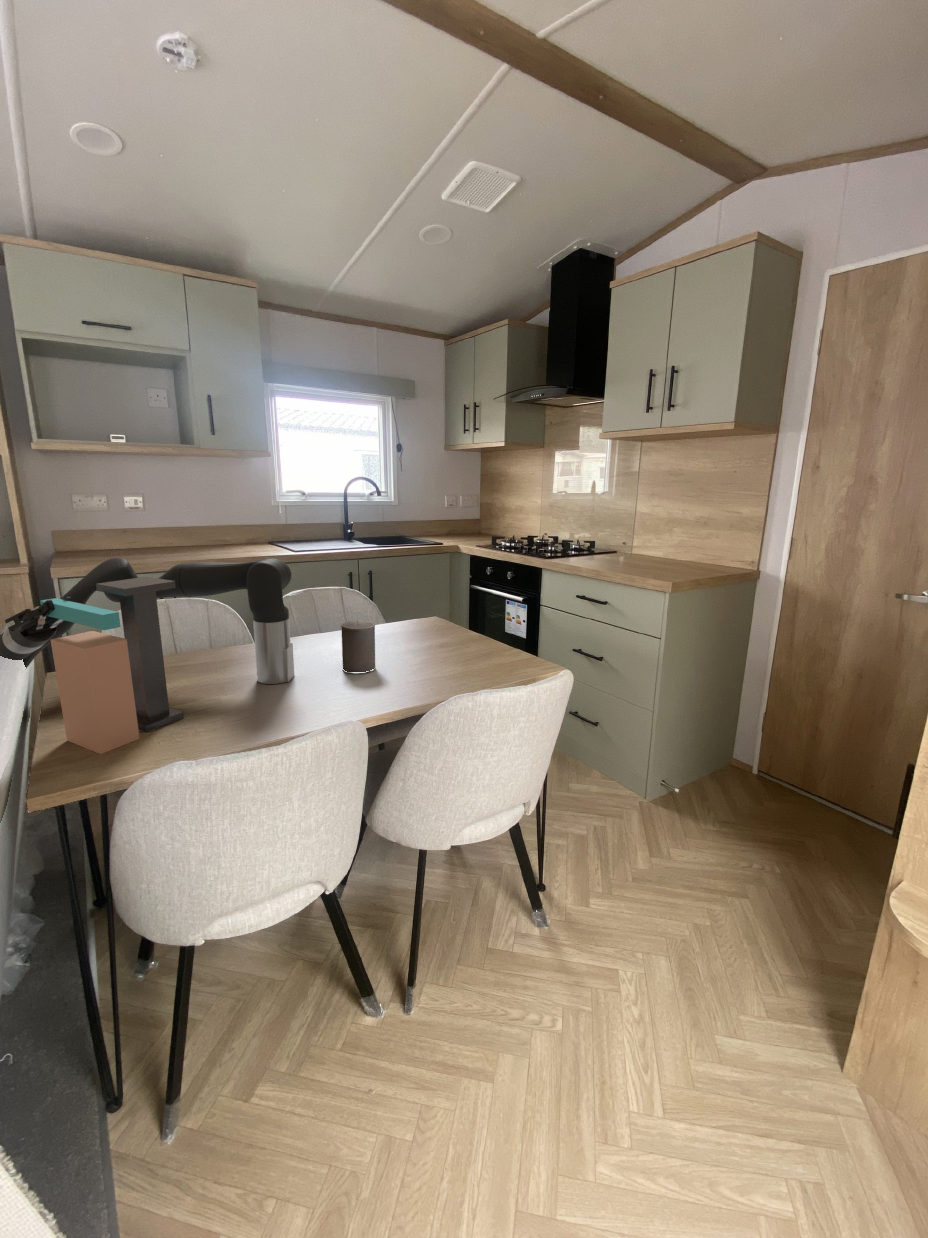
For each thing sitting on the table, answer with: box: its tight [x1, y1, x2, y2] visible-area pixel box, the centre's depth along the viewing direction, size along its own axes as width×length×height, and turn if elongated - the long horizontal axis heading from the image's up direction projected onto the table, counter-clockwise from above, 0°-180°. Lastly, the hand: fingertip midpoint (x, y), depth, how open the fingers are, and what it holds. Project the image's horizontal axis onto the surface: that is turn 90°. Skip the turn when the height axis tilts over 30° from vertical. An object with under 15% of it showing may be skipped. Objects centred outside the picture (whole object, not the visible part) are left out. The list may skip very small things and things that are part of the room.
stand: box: [96, 576, 185, 734], centre depth 123 cm, size 10×11×32 cm
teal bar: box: [39, 597, 122, 631], centre depth 111 cm, size 22×3×3 cm, turn 62°
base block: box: [50, 630, 140, 755], centre depth 114 cm, size 12×8×22 cm, turn 62°
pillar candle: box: [341, 619, 376, 672], centre depth 162 cm, size 10×10×15 cm
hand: (60, 602), depth 114 cm, fingers closed on teal bar, 3 cm apart
